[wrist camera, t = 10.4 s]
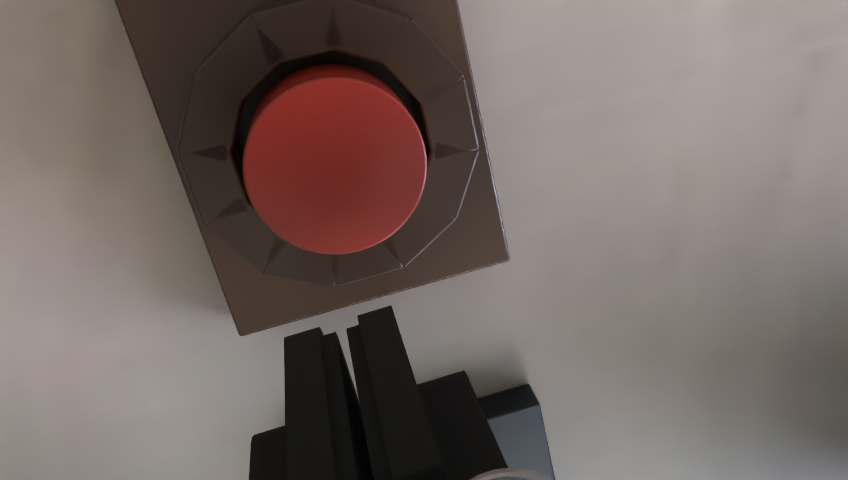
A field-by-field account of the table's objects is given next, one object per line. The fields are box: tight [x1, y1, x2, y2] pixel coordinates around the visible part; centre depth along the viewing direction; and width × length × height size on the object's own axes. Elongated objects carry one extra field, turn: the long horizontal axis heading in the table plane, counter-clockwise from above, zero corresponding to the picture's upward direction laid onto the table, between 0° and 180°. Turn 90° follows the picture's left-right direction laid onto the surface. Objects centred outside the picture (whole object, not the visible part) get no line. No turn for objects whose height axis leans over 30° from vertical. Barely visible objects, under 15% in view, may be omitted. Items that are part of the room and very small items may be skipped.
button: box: [243, 64, 427, 254], centre depth 18 cm, size 4×4×2 cm
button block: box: [115, 0, 510, 336], centre depth 20 cm, size 10×8×3 cm
